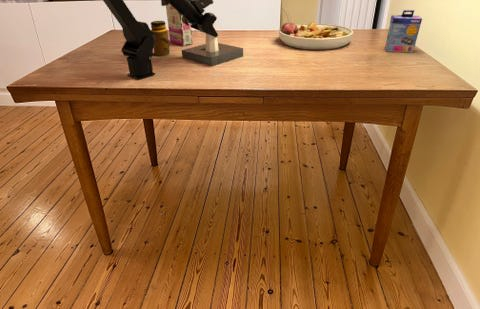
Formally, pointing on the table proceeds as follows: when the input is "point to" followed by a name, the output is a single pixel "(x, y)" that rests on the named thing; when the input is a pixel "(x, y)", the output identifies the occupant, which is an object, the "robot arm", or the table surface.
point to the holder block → (212, 54)
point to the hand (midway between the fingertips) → (214, 35)
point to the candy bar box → (178, 28)
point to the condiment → (160, 39)
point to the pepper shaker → (211, 43)
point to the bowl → (315, 36)
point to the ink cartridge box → (403, 32)
